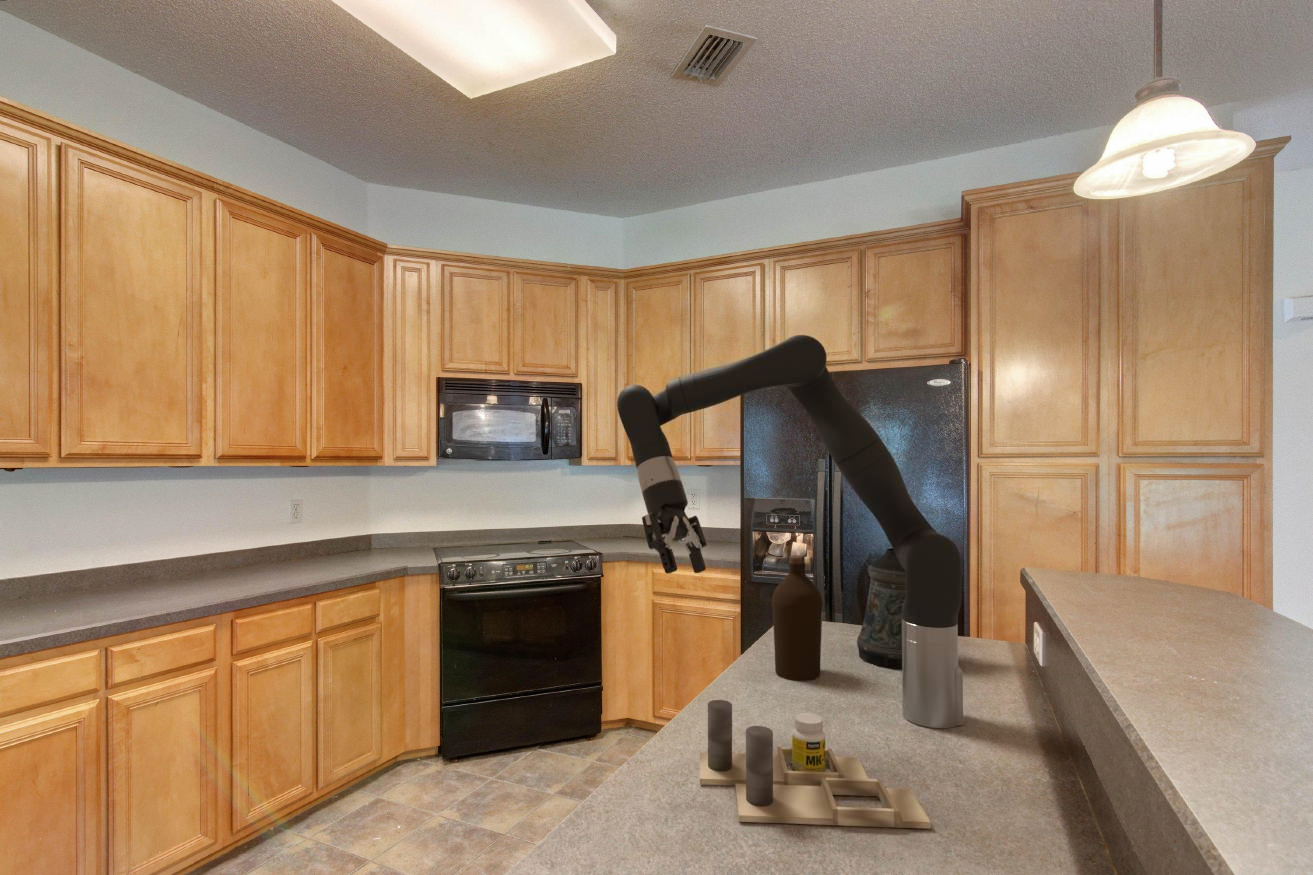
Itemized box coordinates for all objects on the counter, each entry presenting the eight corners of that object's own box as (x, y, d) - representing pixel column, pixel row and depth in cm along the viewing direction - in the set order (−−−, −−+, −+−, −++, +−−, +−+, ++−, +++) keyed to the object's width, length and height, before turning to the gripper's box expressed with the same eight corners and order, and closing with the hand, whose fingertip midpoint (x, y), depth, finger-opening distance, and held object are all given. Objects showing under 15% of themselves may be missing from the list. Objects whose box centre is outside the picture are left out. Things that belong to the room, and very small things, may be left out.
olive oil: (784, 684, 133) (784, 561, 133) (764, 667, 143) (764, 553, 144) (832, 680, 135) (831, 559, 136) (809, 663, 145) (808, 551, 146)
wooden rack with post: (857, 762, 99) (857, 697, 99) (871, 789, 91) (870, 719, 91) (699, 757, 100) (699, 693, 101) (699, 784, 92) (699, 714, 93)
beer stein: (842, 651, 154) (842, 546, 155) (911, 644, 160) (910, 542, 161) (887, 674, 138) (886, 556, 139) (961, 665, 144) (960, 552, 145)
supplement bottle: (806, 786, 92) (806, 726, 92) (785, 771, 96) (785, 714, 97) (832, 778, 94) (832, 720, 95) (810, 764, 99) (810, 709, 99)
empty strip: (910, 794, 90) (909, 723, 90) (930, 828, 82) (930, 749, 82) (735, 788, 91) (735, 718, 91) (738, 821, 83) (738, 744, 83)
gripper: (652, 473, 111) (678, 564, 105) (699, 481, 122) (725, 564, 116) (621, 491, 115) (644, 579, 109) (669, 497, 126) (693, 578, 120)
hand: (686, 571), depth 112 cm, fingers open, 8 cm apart
